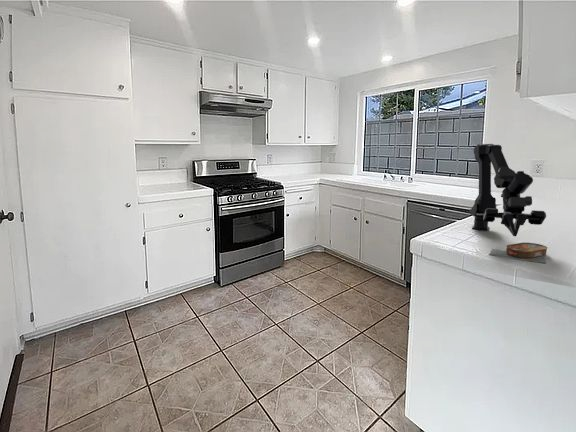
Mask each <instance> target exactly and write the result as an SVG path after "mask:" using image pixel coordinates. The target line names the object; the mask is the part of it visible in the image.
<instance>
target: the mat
mask: <svg viewBox="0 0 576 432" xmlns="http://www.w3.org/2000/svg"><path fill="white" fill-rule="evenodd" d="M489 256H495V257H501V258H507V259H513V260H521V261H527V262H534V263H539V264H546V256H545V255H543V256H538V257H533V258H519V257H516V256H513V255H509V254H507V253H506V250H503V249H496V248H491V250H490V252H489Z"/></svg>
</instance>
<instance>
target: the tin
mask: <svg viewBox="0 0 576 432" xmlns="http://www.w3.org/2000/svg"><path fill="white" fill-rule="evenodd" d="M547 250H548V247H547V246H546V245H544V244H541V243H535V242H519V243H518V242H517V243H512V244H507V245H506V250H505V251H506V253H507V254H509V255H513V256H516V257H519V258H533V257H538V256H545V255H546V254H547Z"/></svg>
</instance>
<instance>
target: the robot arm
mask: <svg viewBox="0 0 576 432" xmlns="http://www.w3.org/2000/svg"><path fill="white" fill-rule="evenodd" d="M473 154H474V159H475V161H476V163H478V195H477V197H476V198H475V200H474V204H473V206H471V208H470V211H469V214H470V216H472V217H474V221H473V226H472V227H471V229H472V230H477V231H478V230H481V231H489V229H490V226H489V223H494V222H495V220H496V219H500V220H501V221H500V224H501V225H503V226H505V227H506V228H507V230H508V231H509V233H511V235H512V236H513V237H517V235H518V233H519V230H520V227H521V226H524V225H525V224H526V221H527V223H529V224H530V225H535V226H536V225H537V226H540V225H542V224H543V223H544V221H545V219H546V218H547V213H546V212H545V211H544V210H533V209H532V210H531V211H530V213H525V209H526V208H525V207H527V206H528V207H530V206H532V205H533V198H532V196H530V195H526V196H523V197H522V196H521V194H524V193H525V192H526V191H527V189H529V187H531V185H532V184H533V182H534V179H533V177H532V176H530V175H529V174H528V173H525V172H524V170H518V171H516V172H515V170H513V169H512V168H510V166H509V164H508V163H507V160H506V157H505V156H504V153H503V149H502V145H500V144H493V143H478V144H477V145H476V146H474V148H473ZM492 168H493V170H494V174H495V176H494V177H493V183H494V185H495V187H496V188H497V189H503V190H502V191H501V195H500V197H501V198H502V210H503V212H499V209H498V208H497V205H496V204H497V203H496V201H497V199H496V197H494V196H493V195H492ZM523 212H524V213H523Z"/></svg>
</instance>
